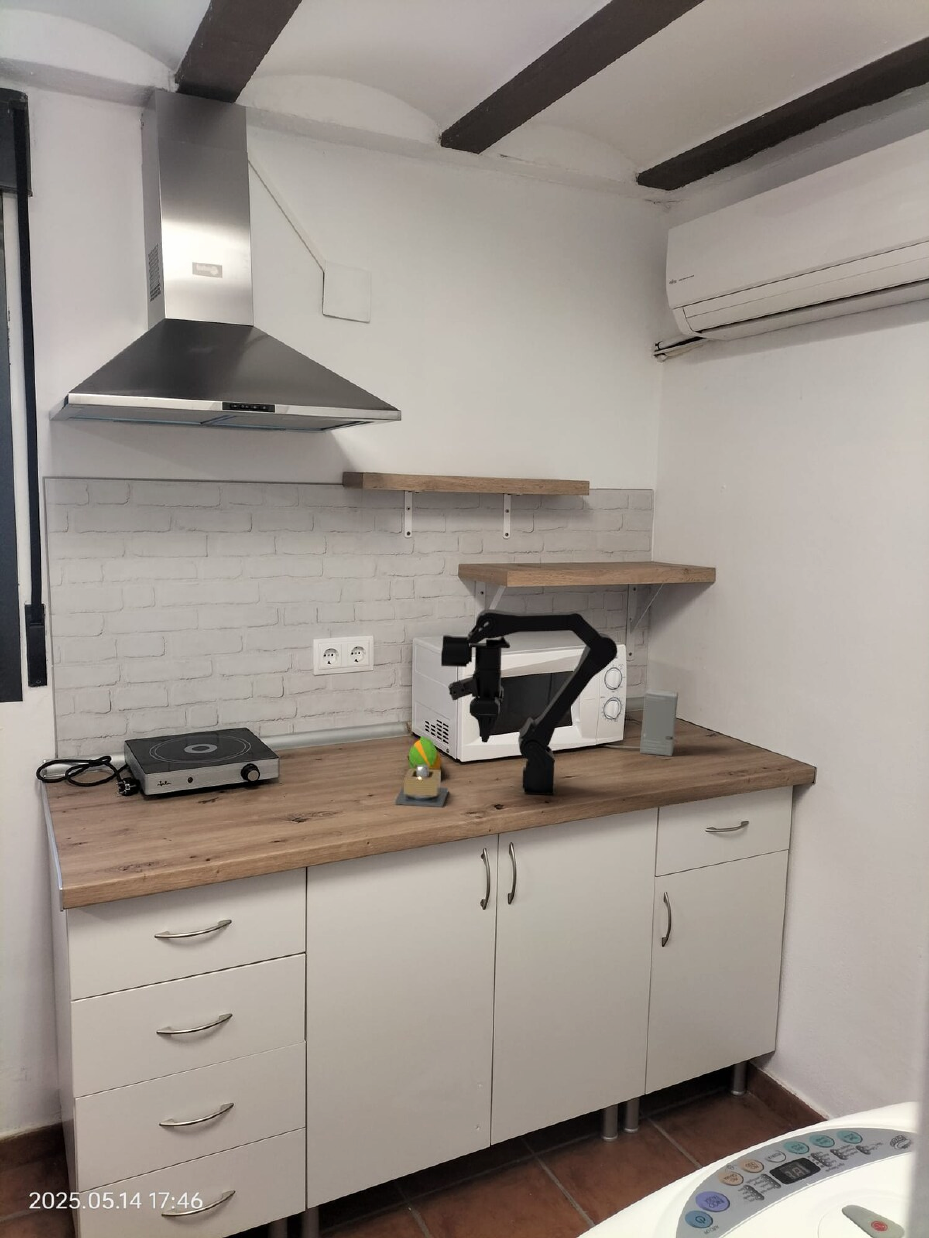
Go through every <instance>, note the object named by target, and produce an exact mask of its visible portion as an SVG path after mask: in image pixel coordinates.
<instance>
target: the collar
mask: <svg viewBox="0 0 929 1238" xmlns="http://www.w3.org/2000/svg"><path fill="white" fill-rule="evenodd" d="M441 770H442V769H441ZM441 770H430V769H429V777H417V769H411V768H408V769H407V772H406V774H405V776H404V778H403V786H404V794H408V795H429V796H437V794H438V791H439V788H441V777H442V776H441V774H442V773H441Z"/></svg>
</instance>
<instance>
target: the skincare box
mask: <svg viewBox="0 0 929 1238" xmlns="http://www.w3.org/2000/svg"><path fill="white" fill-rule="evenodd" d="M643 699H644V702H643V712H642V724H641V733H640V745H639V751H640V754H646V755H647V754H648V755H657V756H668V757H673V756H672V755H673V752H674V744H675V733H676V721H677V710H678V709H677V708H678V699H679V692H675V691H674V692H673V691H666V690H658V689H649V688H648V689H646V691H645V693H644V698H643Z"/></svg>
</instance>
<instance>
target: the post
mask: <svg viewBox="0 0 929 1238" xmlns="http://www.w3.org/2000/svg"><path fill="white" fill-rule="evenodd" d="M417 777H429V766H428V765H418V766H417ZM448 792H449V788H448V787H440V788H439V791H438V794H437V796H429V795H408V794H404V785H403V786H402V788H401V790H400V791H399V793H398V794H397V797H396V799H395V802H394V803H395V805H396V804H402V805H403V806H419V807H420V806H421V807H438V808H439V807H440V808H443V806H444V804H445V801H446V798H447V795H448V794H449V793H448ZM402 805H401V806H402Z"/></svg>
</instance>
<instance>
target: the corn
mask: <svg viewBox="0 0 929 1238" xmlns="http://www.w3.org/2000/svg"><path fill="white" fill-rule="evenodd" d="M407 760H408V763H409V766H410V769H417V766H418V765H428V766H429V769H430V770H442V767H441V765H442V758H441V755H440V754H439V752H438V750H437V748H436V746H435V743H434V742H433V741H432V740H431V739H430V738H428V737H426V736H421V737H420V738H419V739H418V740H417V741H416V742H415V743H414V744H413V746H411V747H410V750H409V753H408V755H407Z"/></svg>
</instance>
